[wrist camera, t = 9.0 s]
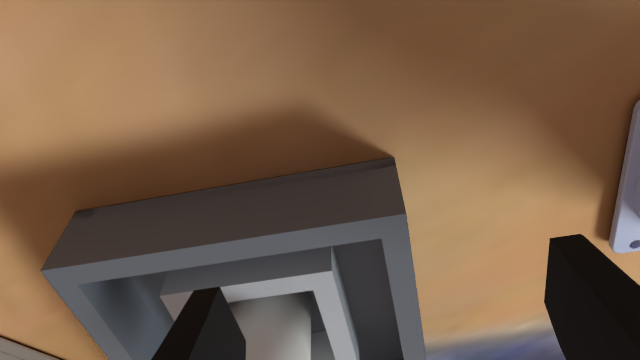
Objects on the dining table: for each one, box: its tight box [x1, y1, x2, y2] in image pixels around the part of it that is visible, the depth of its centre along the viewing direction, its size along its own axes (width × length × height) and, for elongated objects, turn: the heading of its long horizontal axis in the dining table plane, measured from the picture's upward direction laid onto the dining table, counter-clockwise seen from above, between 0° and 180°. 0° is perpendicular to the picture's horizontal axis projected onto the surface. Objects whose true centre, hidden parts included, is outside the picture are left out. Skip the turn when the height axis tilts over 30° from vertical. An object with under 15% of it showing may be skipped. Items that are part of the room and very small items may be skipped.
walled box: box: [41, 157, 426, 360], centre depth 24 cm, size 14×14×4 cm
